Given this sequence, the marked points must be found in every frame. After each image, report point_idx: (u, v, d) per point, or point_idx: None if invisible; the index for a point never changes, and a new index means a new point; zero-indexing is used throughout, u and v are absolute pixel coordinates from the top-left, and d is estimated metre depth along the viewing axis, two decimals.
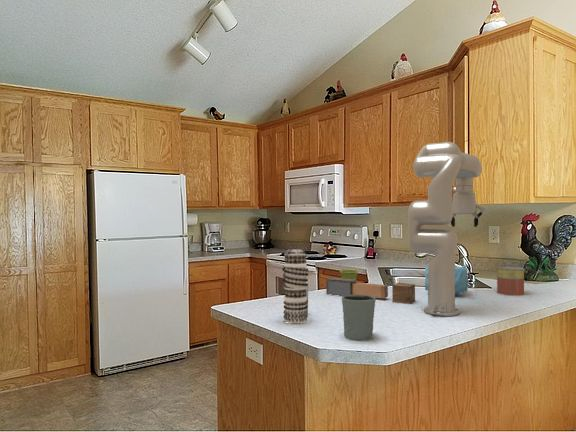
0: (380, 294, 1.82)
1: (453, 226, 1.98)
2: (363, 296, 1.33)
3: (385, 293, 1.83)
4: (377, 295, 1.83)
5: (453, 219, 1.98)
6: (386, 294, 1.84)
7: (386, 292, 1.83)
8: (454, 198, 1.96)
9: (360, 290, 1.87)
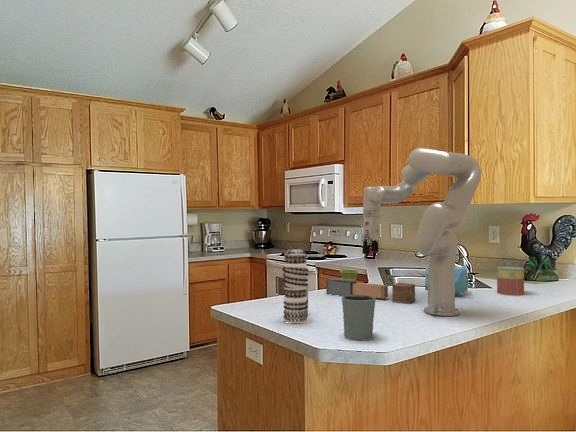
0: (380, 294, 1.82)
1: (368, 253, 1.83)
2: (363, 296, 1.33)
3: (385, 293, 1.83)
4: (377, 295, 1.83)
5: (369, 246, 1.83)
6: (386, 294, 1.84)
7: (386, 292, 1.83)
8: (373, 223, 1.82)
9: (360, 290, 1.87)
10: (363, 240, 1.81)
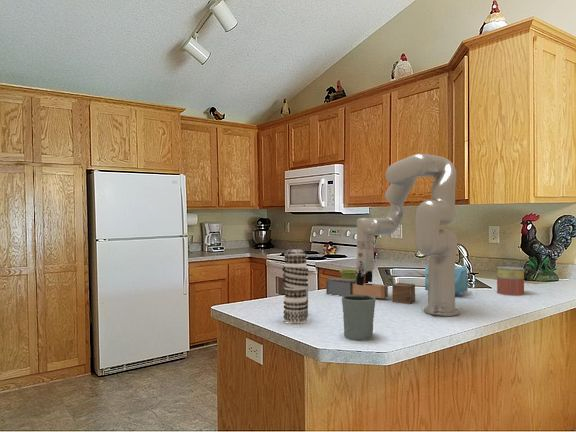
0: (380, 294, 1.82)
1: (362, 285, 1.84)
2: (363, 296, 1.33)
3: (385, 293, 1.83)
4: (377, 295, 1.83)
5: (363, 277, 1.84)
6: (386, 294, 1.84)
7: (386, 292, 1.83)
8: (366, 255, 1.84)
9: (360, 290, 1.87)
10: (357, 272, 1.82)
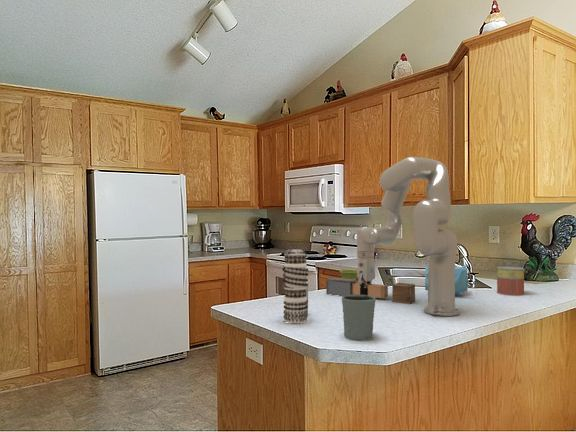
0: (380, 294, 1.82)
1: None
2: (363, 296, 1.33)
3: (385, 293, 1.83)
4: (377, 295, 1.83)
5: None
6: (386, 294, 1.84)
7: (386, 292, 1.83)
8: (367, 264, 1.84)
9: None
10: None
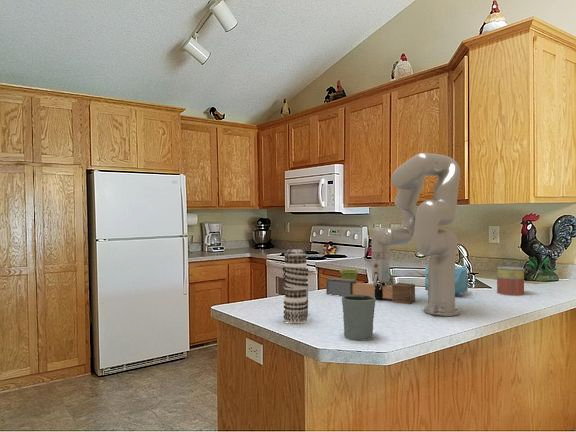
0: None
1: None
2: (363, 296, 1.33)
3: None
4: None
5: (381, 290, 1.82)
6: None
7: None
8: (382, 265, 1.80)
9: None
10: None
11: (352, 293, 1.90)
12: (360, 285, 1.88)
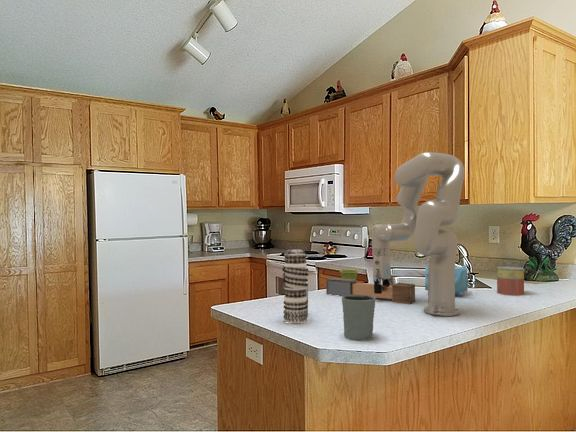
0: None
1: None
2: (363, 296, 1.33)
3: None
4: None
5: None
6: None
7: None
8: (383, 262, 1.79)
9: None
10: (374, 280, 1.78)
11: (352, 293, 1.90)
12: (360, 285, 1.87)
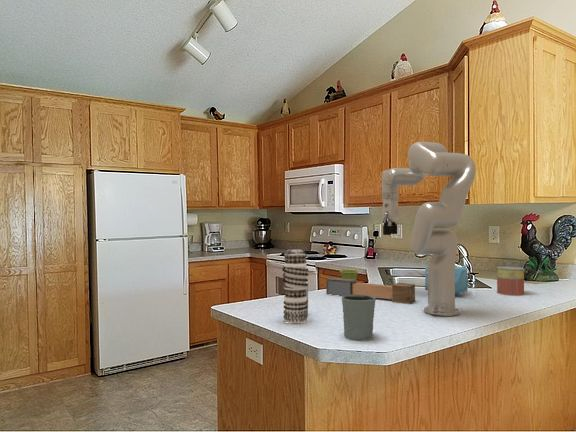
0: None
1: (389, 234, 1.89)
2: (363, 296, 1.33)
3: None
4: None
5: (390, 227, 1.89)
6: None
7: None
8: (392, 205, 1.89)
9: (375, 291, 1.84)
10: (384, 221, 1.87)
11: (352, 293, 1.90)
12: (360, 285, 1.87)
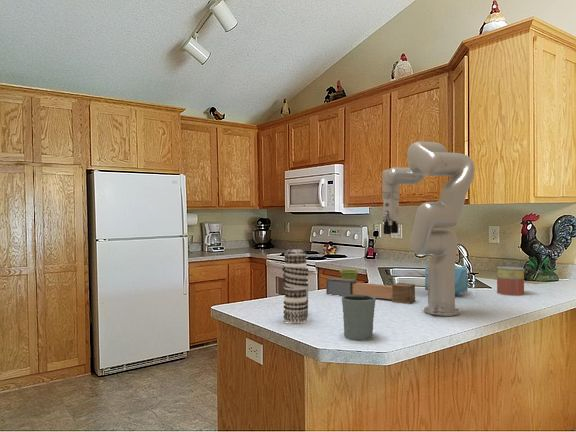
0: None
1: (389, 233, 1.90)
2: (363, 296, 1.33)
3: None
4: None
5: (390, 226, 1.90)
6: None
7: None
8: (393, 204, 1.89)
9: (375, 291, 1.84)
10: (384, 220, 1.88)
11: (352, 293, 1.90)
12: (360, 285, 1.87)
